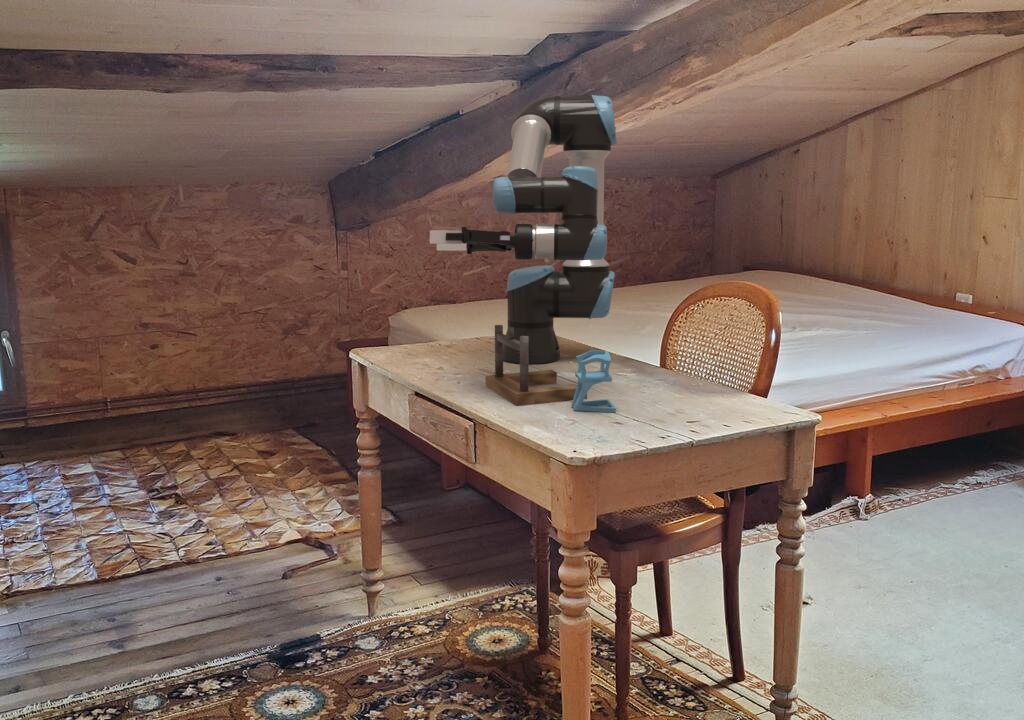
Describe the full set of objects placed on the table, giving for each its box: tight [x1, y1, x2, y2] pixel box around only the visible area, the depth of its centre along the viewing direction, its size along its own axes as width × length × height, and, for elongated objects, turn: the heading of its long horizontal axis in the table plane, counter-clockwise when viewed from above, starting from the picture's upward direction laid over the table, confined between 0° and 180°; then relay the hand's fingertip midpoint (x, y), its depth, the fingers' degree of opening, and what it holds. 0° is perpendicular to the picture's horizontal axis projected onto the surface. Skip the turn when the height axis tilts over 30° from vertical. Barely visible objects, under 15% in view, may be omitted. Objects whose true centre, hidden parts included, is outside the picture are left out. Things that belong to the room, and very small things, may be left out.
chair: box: [571, 349, 617, 414], centre depth 201 cm, size 8×8×12 cm
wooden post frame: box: [485, 324, 588, 407], centre depth 215 cm, size 16×19×15 cm
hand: (433, 240), depth 211 cm, fingers open, 13 cm apart
